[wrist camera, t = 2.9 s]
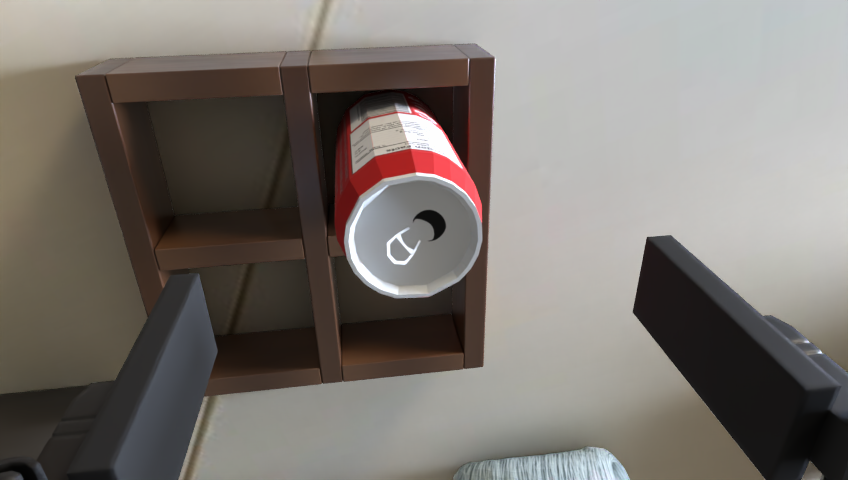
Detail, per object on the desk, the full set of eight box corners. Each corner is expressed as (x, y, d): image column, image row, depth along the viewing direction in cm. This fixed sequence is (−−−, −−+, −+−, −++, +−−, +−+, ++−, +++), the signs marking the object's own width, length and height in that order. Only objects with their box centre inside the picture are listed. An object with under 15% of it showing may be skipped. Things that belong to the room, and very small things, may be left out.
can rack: (189, 354, 34) (172, 400, 31) (108, 58, 26) (73, 75, 23) (469, 326, 36) (483, 367, 33) (476, 43, 28) (496, 57, 25)
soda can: (377, 205, 32) (397, 335, 21) (313, 130, 29) (300, 234, 19) (458, 147, 31) (521, 253, 20) (399, 65, 28) (436, 135, 18)
